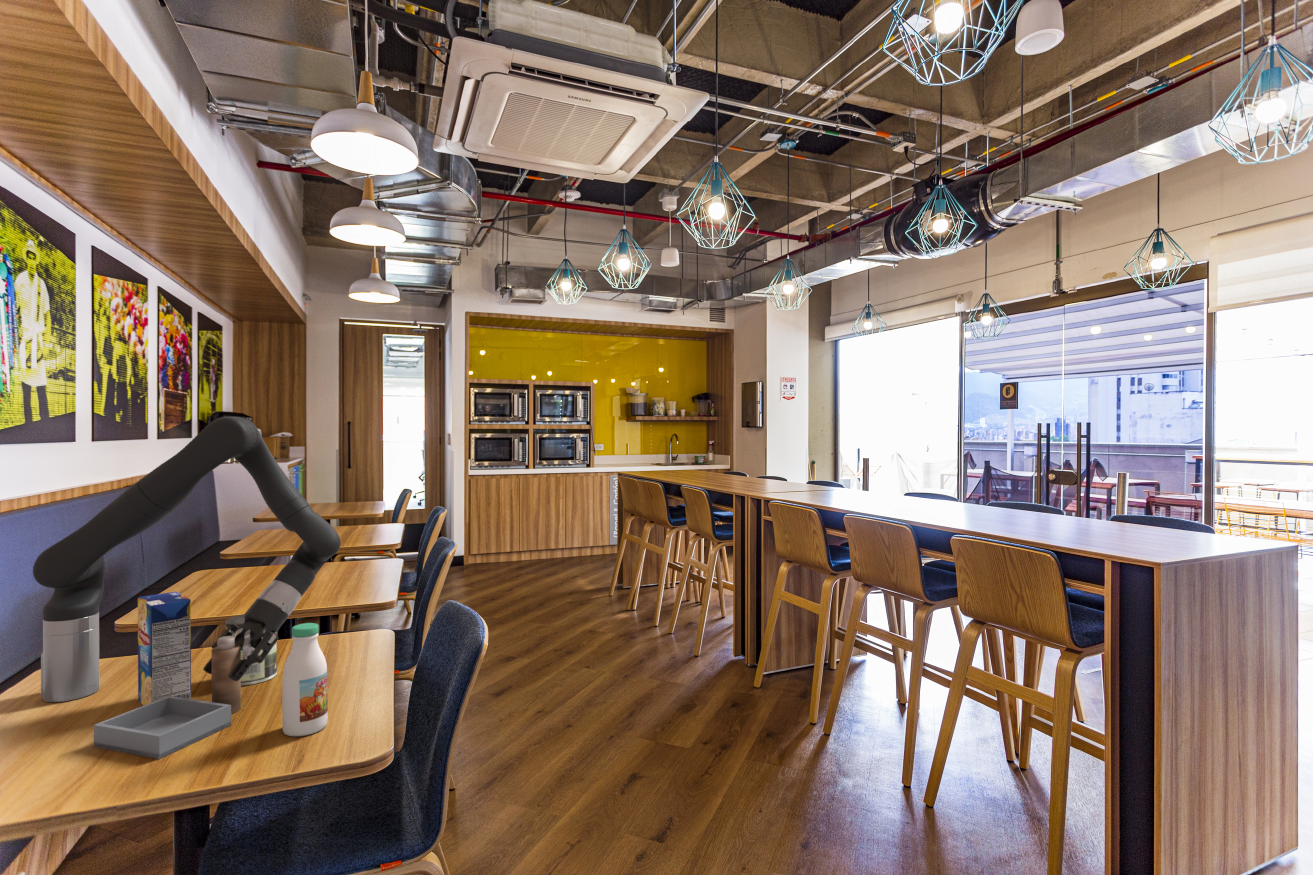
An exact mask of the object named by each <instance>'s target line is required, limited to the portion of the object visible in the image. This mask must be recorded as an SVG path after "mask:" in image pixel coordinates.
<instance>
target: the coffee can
mask: <svg viewBox="0 0 1313 875" xmlns="http://www.w3.org/2000/svg"><path fill="white" fill-rule="evenodd" d="M244 614H245V613H244ZM244 614H243V613H242V614H239V615H235V616H232V617H229V618H228V619H226V620H225V626H226V627H225V630H226V629H227V628H228V627H229V626H230V625H231V624H235V625H236V626H238V627H240V626H241V625H243V624H244V622H245V619H244ZM274 635H276V636H277V632H276V633H274ZM262 652H263V650H262V649H261V651H260V654H258V655H259V656H260V655H261V654H262ZM243 653H244V650H241V660H243V659H242V658H243ZM277 659H278V658H277V642H276V643H275V645H274V646H273V647H272V649H271V650H270V652H269V653H268V655H267V656H266V657H265V659H264V660H263V662H262V663H260V664H259V663H255V664H253V665H250V667H249V668H248V669H247V671H246V672H245V673H244V675H243V676H242V677H241V687H244V686H253V685H257V684H261V683H264V682H267V681H270V680H272V679H273V678H275V677H276V676H277V675H278V671H277V670H278V668H277V666H278V665H277V664H278V663H277Z"/></svg>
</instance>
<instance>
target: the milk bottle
mask: <svg viewBox="0 0 1313 875" xmlns="http://www.w3.org/2000/svg"><path fill="white" fill-rule="evenodd" d="M319 627H320V626H319V624H318V623H314V622H305V623H299V624H296V625H294V626H292V628H291V640H292V646H291V650H290V652H289V654H288V656H287V658H286V660H285V662H284V667H283V671H282V696H281V697H282V700H281V701H282V705H281V706H282V709H281V710H282V717H281V718H282V719H281V720H282V732H283V734H284V735H286V736H288V737H305V736H309V735H312V734H316V733H318V732H320V731H322V730H324V728H326V726H327V724H328V720H329V718H328V716H329V713H328V708H329V707H328V704H329V703H328V701H329V700H328V694H329V692H328V691H329V690H328V689H329V688H328V686H329V685H328V665H327V659H326V657H325V655H324V653H323V651H322V649H321V648H320V645H319V642H318V637H319Z"/></svg>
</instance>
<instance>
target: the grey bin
mask: <svg viewBox="0 0 1313 875" xmlns="http://www.w3.org/2000/svg"><path fill="white" fill-rule="evenodd" d="M230 726H232V714H231V705H228V704H221V703H214V702H212V701H208V700H207V701H206V700H201V699H193V698H191V699H188V698H181V697H174V696H168V697H165V698H162V699H160V700H157V701H155V702H152V703H149V704H147V705H142V706H139V707H136V708H134V709H132V710H129V711H125V712H124V713H121V714H118V715H116V716H113V717H111V718H108V719H106V720H103V721H100V722H98V723H96V724H93V748H97V749H98V748H99V749H102V748H103V750H110V751H113V750H114V751H115V752H120V753H125V754H131V755H136V756H141V757H145V756H146V757H147V758H152V759H156V760H160V759H163V758H165V757H167V756H169V755H172V754H173V753H176V752H178V751H180V750H182V749H184V748H186V747H188V746H190V745H192V744H194V743H197V742H199V741H201V740H203V739H205V738H207V737H209V736H212V735H214V734H216V733H219V732H220V731H222V730H224V729H227V728H229V727H230Z"/></svg>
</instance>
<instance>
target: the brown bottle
mask: <svg viewBox="0 0 1313 875" xmlns="http://www.w3.org/2000/svg"><path fill="white" fill-rule="evenodd" d="M216 641H217V647H215V648H211V658H212V674H211V702H214V703H221V704H228V705H231V715H233V714H235V713H237V712H239V711H240V710H241V709H242V708H241V706H242V704H241V703H242V694H241V693H242V692H241V690H242V686H241V678H240V679H239V680H238V681H234V680H232V679H230V678H229V677H228V675H229V674H230V672H231V671H232V670H233V668H234V667H235V666H236V665H237V663H238V662H239V661H240V659H241V646H240V645H239V644H235V637H234V636H225V637H221V638H219V637H218V639H217V640H216Z"/></svg>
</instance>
